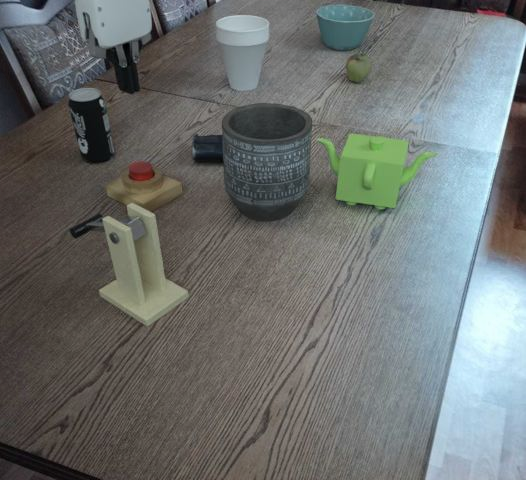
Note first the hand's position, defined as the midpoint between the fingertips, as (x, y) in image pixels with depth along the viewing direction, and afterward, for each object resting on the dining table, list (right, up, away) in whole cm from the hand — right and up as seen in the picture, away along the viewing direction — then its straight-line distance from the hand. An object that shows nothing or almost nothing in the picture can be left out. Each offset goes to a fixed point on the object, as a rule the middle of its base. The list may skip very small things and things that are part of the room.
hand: (129, 90), depth 85 cm
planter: (+21, -15, +11) cm, 28 cm away
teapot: (+39, -13, +13) cm, 44 cm away
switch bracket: (+4, -33, -7) cm, 34 cm away
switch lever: (0, -25, -11) cm, 27 cm away
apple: (+44, +27, +52) cm, 73 cm away
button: (0, -10, +10) cm, 14 cm away
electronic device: (+15, -2, +23) cm, 28 cm away
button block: (0, -13, +13) cm, 18 cm away
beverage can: (-12, -2, +23) cm, 26 cm away
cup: (+16, +24, +49) cm, 57 cm away
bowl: (+43, +45, +69) cm, 93 cm away
